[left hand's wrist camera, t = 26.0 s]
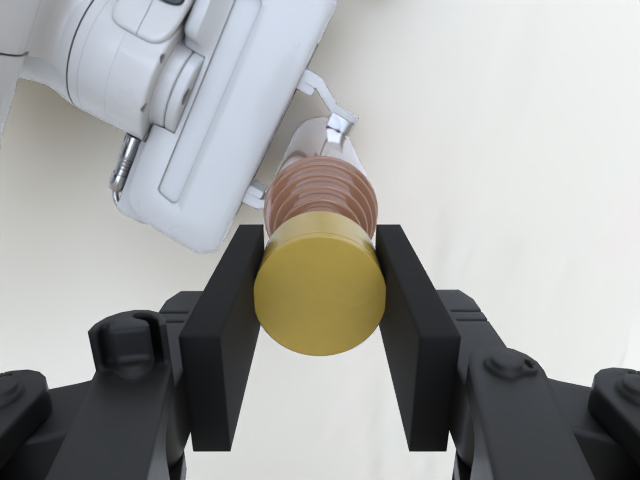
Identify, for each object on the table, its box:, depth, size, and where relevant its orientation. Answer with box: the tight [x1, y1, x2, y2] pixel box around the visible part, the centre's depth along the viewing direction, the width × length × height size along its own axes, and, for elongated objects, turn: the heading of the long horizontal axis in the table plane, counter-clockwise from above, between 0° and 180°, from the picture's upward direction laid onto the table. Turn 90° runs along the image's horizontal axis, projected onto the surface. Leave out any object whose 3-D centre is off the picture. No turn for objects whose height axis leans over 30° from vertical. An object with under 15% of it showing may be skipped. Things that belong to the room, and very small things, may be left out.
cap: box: [254, 211, 386, 356], centre depth 13 cm, size 4×4×2 cm
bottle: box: [264, 117, 378, 240], centre depth 25 cm, size 5×5×26 cm
